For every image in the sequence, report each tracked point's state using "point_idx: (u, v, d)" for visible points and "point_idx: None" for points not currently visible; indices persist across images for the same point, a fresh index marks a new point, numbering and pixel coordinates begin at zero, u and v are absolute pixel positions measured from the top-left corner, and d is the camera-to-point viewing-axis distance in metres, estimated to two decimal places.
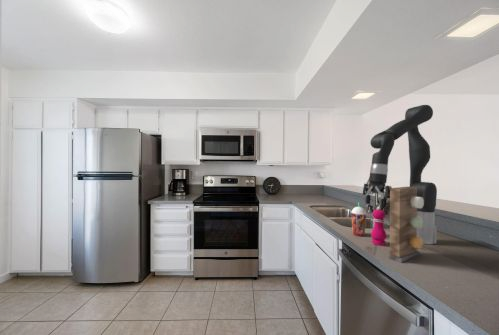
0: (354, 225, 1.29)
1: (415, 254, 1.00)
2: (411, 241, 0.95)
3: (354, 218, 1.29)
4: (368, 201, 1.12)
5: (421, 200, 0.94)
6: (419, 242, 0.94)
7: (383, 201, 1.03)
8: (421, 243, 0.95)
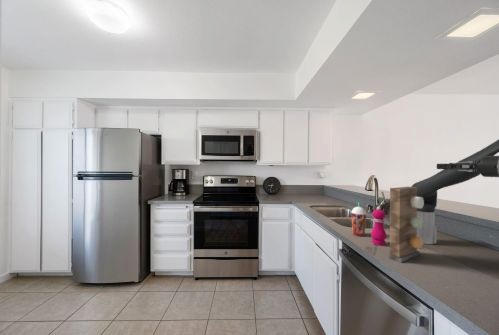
0: (354, 225, 1.29)
1: (415, 254, 1.00)
2: (411, 241, 0.95)
3: (354, 218, 1.29)
4: None
5: (421, 200, 0.94)
6: (419, 242, 0.94)
7: None
8: (421, 243, 0.95)
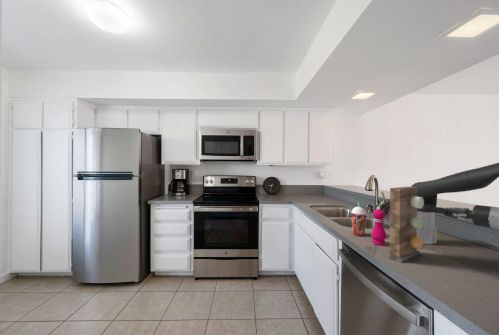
0: (354, 225, 1.29)
1: (415, 254, 1.00)
2: (411, 241, 0.95)
3: (354, 218, 1.29)
4: None
5: (421, 200, 0.94)
6: (419, 242, 0.94)
7: None
8: (421, 243, 0.95)
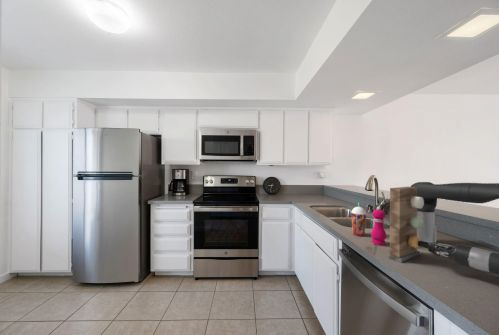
0: (354, 225, 1.29)
1: (415, 254, 1.00)
2: (409, 240, 0.96)
3: (354, 218, 1.29)
4: None
5: (421, 200, 0.94)
6: (417, 241, 0.94)
7: None
8: None
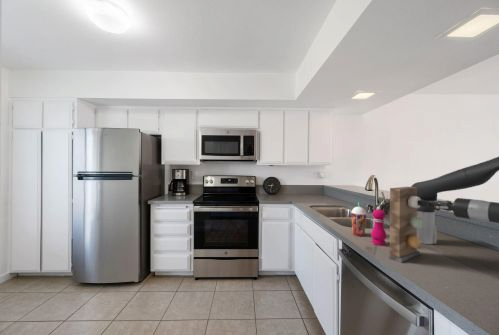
0: (354, 225, 1.29)
1: (415, 254, 1.00)
2: (408, 240, 0.96)
3: (354, 218, 1.29)
4: None
5: None
6: (416, 241, 0.95)
7: None
8: (418, 242, 0.96)
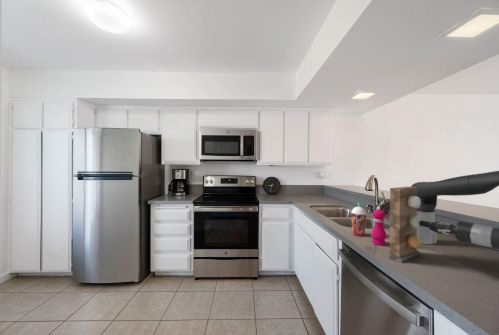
0: (354, 225, 1.29)
1: (415, 254, 1.00)
2: (408, 240, 0.96)
3: (354, 218, 1.29)
4: None
5: (418, 200, 0.95)
6: (416, 241, 0.95)
7: None
8: (418, 242, 0.96)
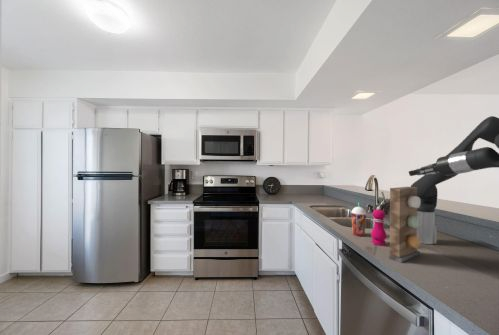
0: (354, 225, 1.29)
1: (415, 254, 1.00)
2: (408, 240, 0.96)
3: (354, 218, 1.29)
4: None
5: (418, 200, 0.95)
6: (416, 241, 0.95)
7: None
8: (418, 242, 0.96)
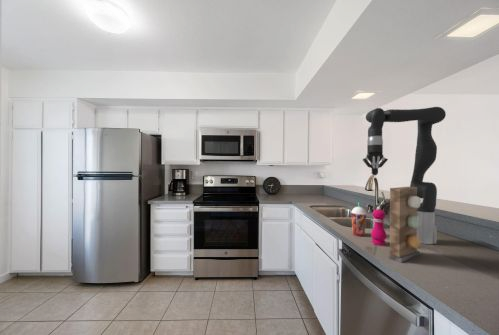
0: (354, 225, 1.29)
1: (415, 254, 1.00)
2: (408, 240, 0.96)
3: (354, 218, 1.29)
4: None
5: (418, 200, 0.95)
6: (416, 241, 0.95)
7: (377, 170, 1.21)
8: (418, 242, 0.96)
